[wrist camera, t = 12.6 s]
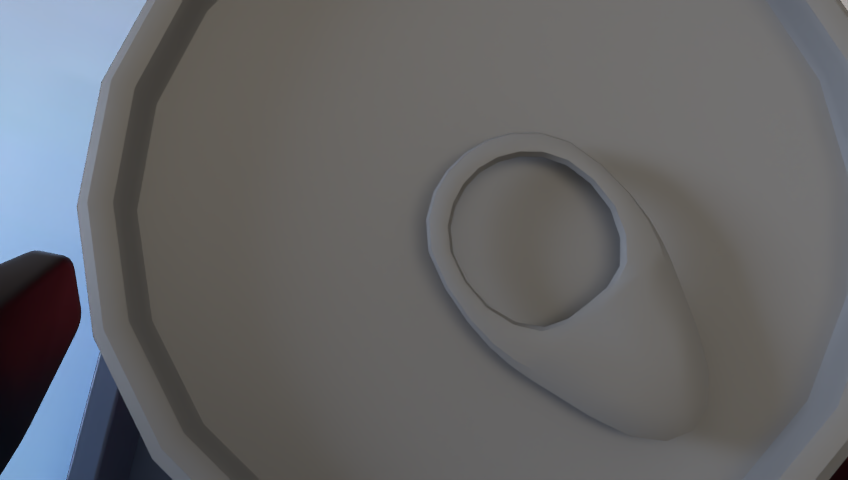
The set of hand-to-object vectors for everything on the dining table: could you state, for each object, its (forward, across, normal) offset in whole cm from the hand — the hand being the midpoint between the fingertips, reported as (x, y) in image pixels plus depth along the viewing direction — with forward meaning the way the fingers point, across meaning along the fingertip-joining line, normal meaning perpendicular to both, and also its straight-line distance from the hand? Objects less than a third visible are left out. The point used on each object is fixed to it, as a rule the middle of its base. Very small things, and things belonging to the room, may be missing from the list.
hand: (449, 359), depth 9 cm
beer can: (+7, 0, +5) cm, 8 cm away
